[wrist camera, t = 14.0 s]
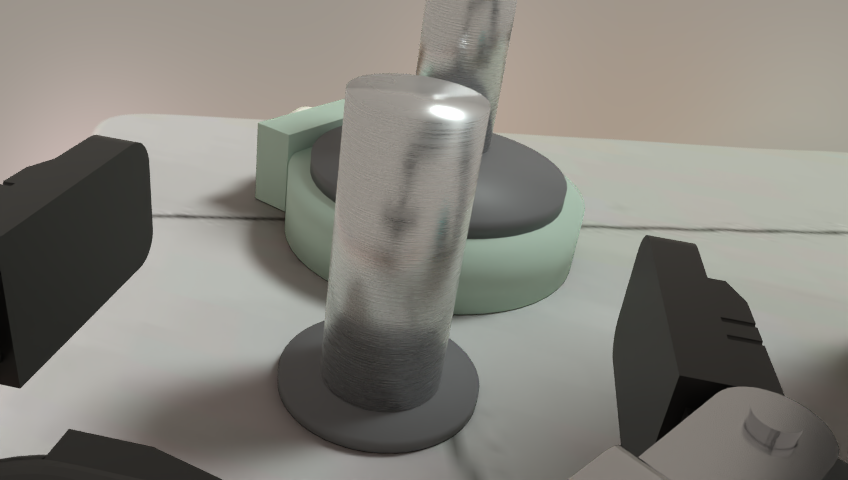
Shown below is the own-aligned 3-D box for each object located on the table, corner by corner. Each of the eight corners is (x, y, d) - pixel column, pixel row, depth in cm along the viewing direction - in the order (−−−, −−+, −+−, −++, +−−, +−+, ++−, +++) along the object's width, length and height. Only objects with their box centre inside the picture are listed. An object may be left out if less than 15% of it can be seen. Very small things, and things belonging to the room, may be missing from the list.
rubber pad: (511, 379, 28) (514, 368, 28) (402, 488, 23) (403, 475, 22) (361, 304, 31) (362, 294, 31) (233, 383, 26) (234, 372, 26)
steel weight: (462, 371, 27) (516, 102, 23) (394, 430, 24) (440, 132, 19) (370, 323, 29) (401, 66, 25) (294, 373, 26) (315, 87, 21)
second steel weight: (504, 143, 39) (544, -62, 35) (462, 163, 36) (500, -61, 32) (436, 120, 41) (466, -78, 37) (391, 137, 38) (417, -78, 33)
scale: (613, 240, 40) (633, 169, 38) (480, 357, 29) (498, 266, 27) (372, 147, 47) (379, 84, 45) (193, 214, 36) (192, 134, 34)
